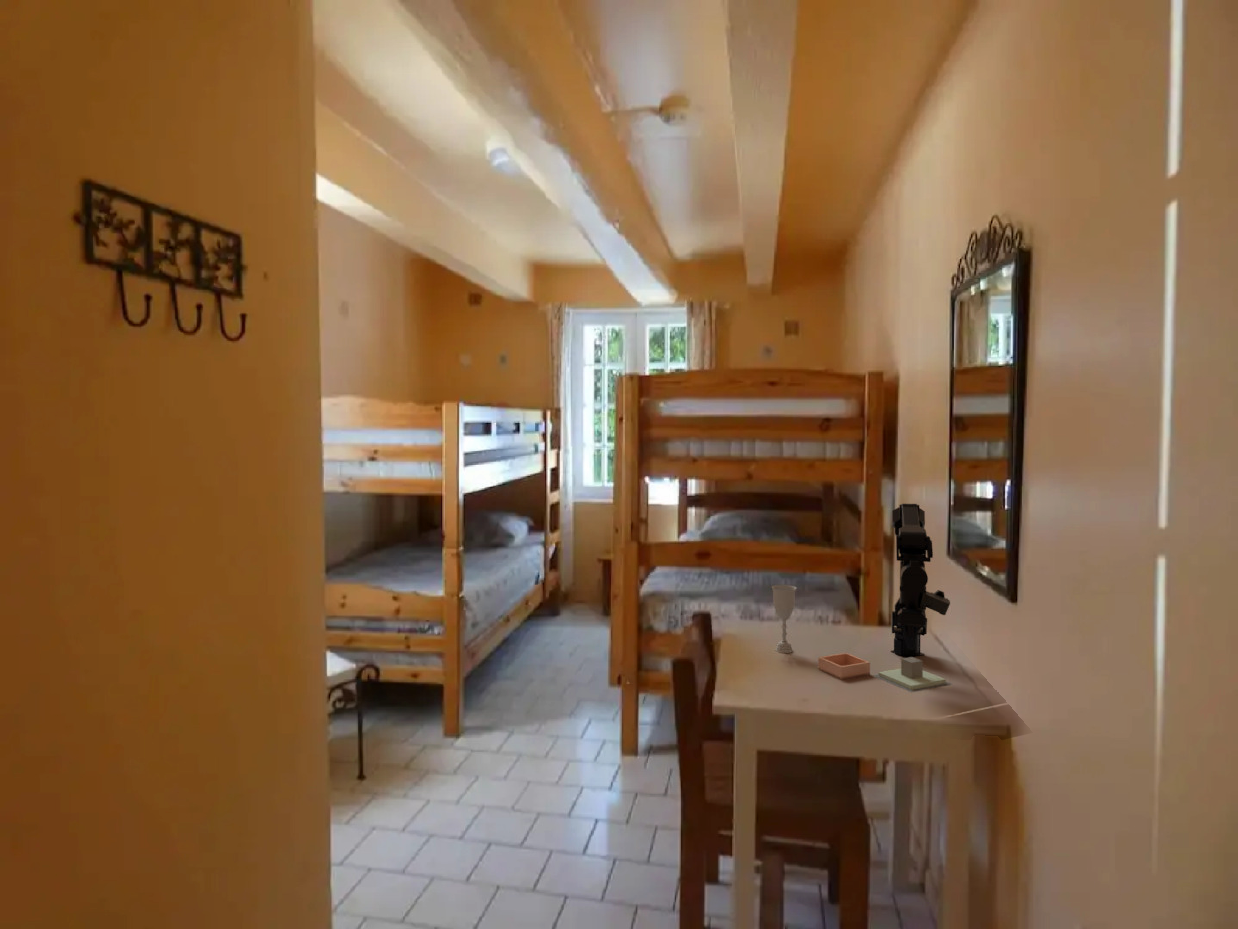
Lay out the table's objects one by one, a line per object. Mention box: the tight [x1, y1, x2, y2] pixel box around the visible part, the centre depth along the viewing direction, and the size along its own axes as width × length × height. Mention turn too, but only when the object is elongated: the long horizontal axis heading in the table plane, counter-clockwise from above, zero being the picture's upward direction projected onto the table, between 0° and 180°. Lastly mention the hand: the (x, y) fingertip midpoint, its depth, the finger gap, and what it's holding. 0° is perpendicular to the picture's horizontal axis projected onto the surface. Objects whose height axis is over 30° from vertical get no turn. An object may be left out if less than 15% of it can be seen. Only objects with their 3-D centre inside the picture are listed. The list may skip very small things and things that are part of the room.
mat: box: [872, 674, 952, 693], centre depth 188 cm, size 13×13×1 cm
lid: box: [878, 657, 947, 690], centre depth 188 cm, size 11×11×5 cm
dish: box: [817, 652, 871, 681], centre depth 194 cm, size 9×9×4 cm
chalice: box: [771, 584, 797, 654], centre depth 214 cm, size 7×7×18 cm
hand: (911, 644), depth 187 cm, fingers open, 9 cm apart
